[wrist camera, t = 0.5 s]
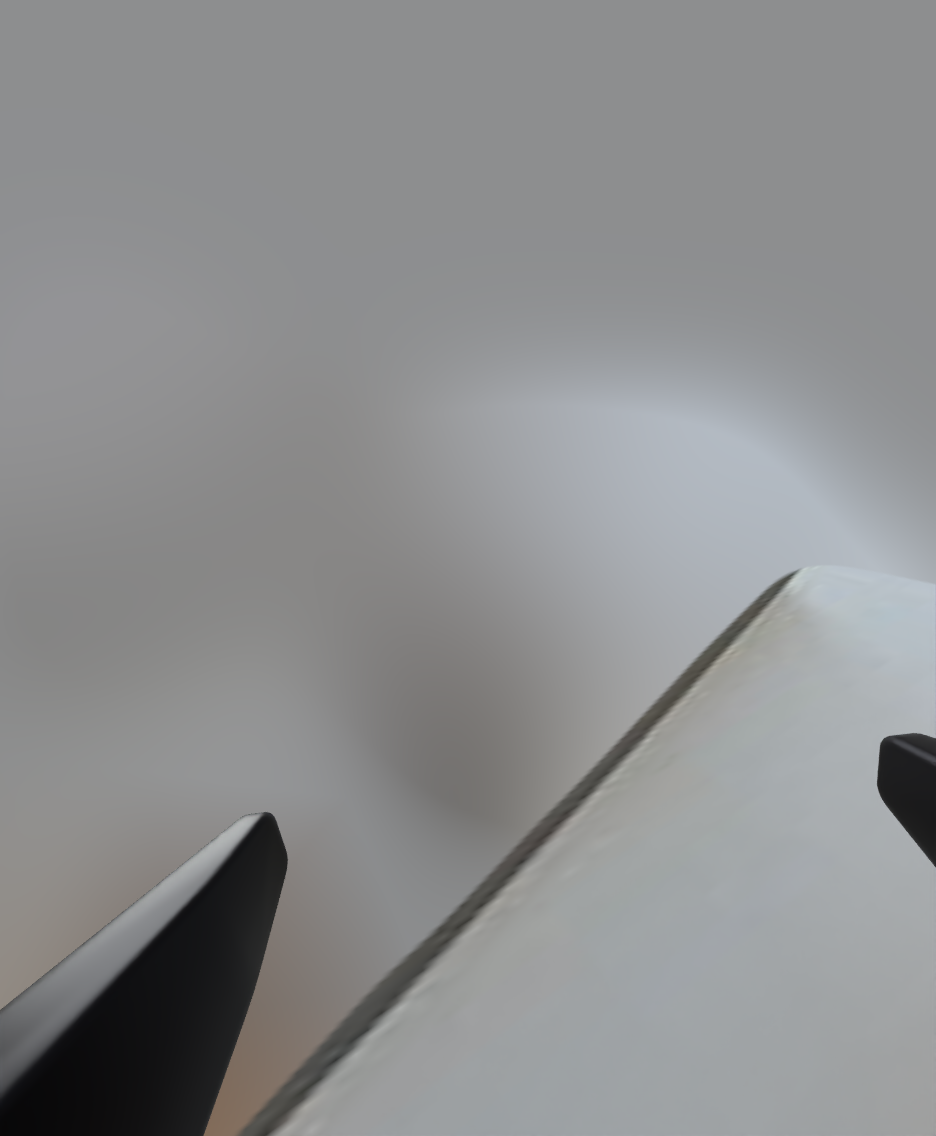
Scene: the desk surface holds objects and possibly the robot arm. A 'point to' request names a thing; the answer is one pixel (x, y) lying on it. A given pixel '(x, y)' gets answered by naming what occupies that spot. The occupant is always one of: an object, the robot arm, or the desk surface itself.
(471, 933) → the desk surface
